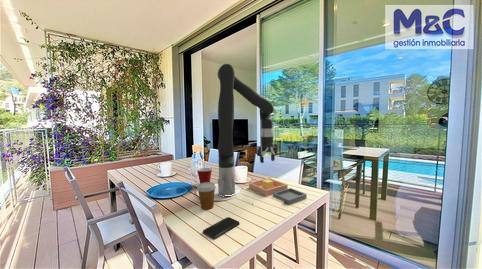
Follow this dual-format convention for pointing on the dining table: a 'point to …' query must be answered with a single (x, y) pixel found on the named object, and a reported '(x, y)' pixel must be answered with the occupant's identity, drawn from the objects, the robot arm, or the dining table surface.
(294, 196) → the charcoal tray
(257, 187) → the terracotta dish
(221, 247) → the dining table surface
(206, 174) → the plastic cup
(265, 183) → the ochre cube
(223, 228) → the phone
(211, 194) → the disposable coffee cup
